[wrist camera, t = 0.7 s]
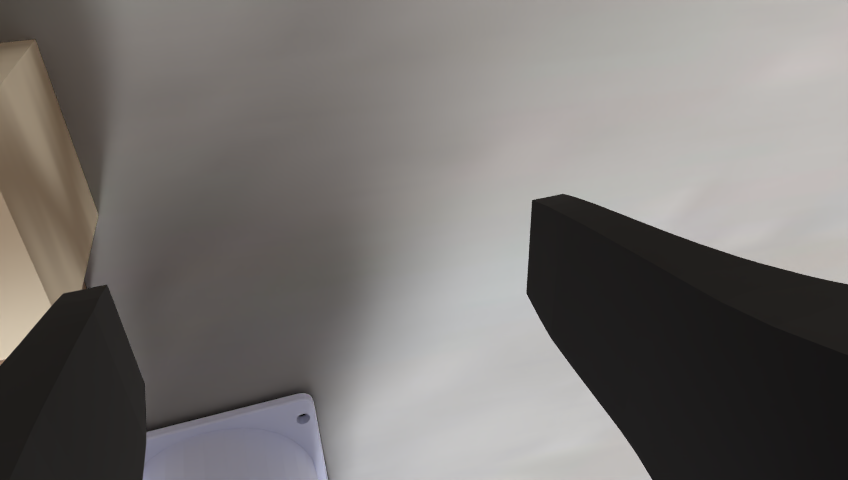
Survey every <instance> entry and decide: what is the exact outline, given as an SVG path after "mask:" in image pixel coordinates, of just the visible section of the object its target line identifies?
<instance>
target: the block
mask: <svg viewBox="0 0 848 480" xmlns="http://www.w3.org/2000/svg"><path fill="white" fill-rule="evenodd" d="M97 220H98V212H97V209H96V207H95V204H94V201H93V198H92V196H91V193H90V190H89V187H88V184H87V182H86V179H85V176H84V173H83V171H82V168H81V165H80V162H79V159H78V157H77V154H76V151H75V148H74V145H73V143H72V140H71V137H70V134H69V132H68V129H67V126H66V123H65V120H64V118H63V115H62V112H61V109H60V107H59V104H58V101H57V98H56V95H55V93H54V90H53V87H52V84H51V82H50V79H49V76H48V73H47V70H46V68H45V65H44V62H43V59H42V56H41V54H40V51H39V48H38V45H37V43H36V40H35V39H32V40H23V41H14V42H4V43H0V360H4V359H6V358H7V357H8V356H9V355H10V354H11V353H12V352H13V350H14V349H15V348H16V347H17V346H18V345H19V344H20V342H21V341H22V340H23V339H24V338H25V337H26V335H27V334H28V333H29V332H30V331H31V329H32V328H33V327H34V326H35V325H36V324H37V322H38V321H39V320H40V319H41V318H42V316H43V315H44V314H45V313H46V312H47V311H48V309H49V308H50V307H51V306H52V305H53V304H54V303H55V302H56V300H57V299H58V298H59V297H60V296H61V295H62V294H63V293H68V292H73V291H78V290H82V286H83V282H84V277H85V273H86V268H87V264H88V260H89V255H90V251H91V246H92V242H93V237H94V233H95V229H96V224H97Z"/></svg>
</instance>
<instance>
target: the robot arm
mask: <svg viewBox="0 0 848 480" xmlns="http://www.w3.org/2000/svg"><path fill="white" fill-rule="evenodd" d="M527 295H528V297H529V299H530V301H531V303H532V305H533V307H534V309H535V310H536V312H537V314H538V316H539V318H540V320H541V322H542V323H543V325H544V327H545V329H546V330H547V332H548V334H549V336H550V337H551V339H552V340H553V341H554V343H555V344H556V346H557V347H558V348H559V350H560V351H561V352H562V354H563V355H564V356H565V358H566V359H567V361H568V362H569V363H570V365H571V366H572V367H573V369H574V370H575V371H576V373H577V374H578V375H579V377H580V378H581V379H582V380H583V382H584V383H585V384H586V386H587V387H588V388H589V390H590V391H591V392H592V394H593V395H594V396H595V398H596V399H597V400H598V402H599V403H600V404H601V405H602V407H603V408H604V409H605V411H606V412H607V413H608V415H609V416H610V417H611V419H612V420H613V421H614V423H615V424H616V425H617V427H618V428H619V429H620V430H621V432H622V433H623V435H624V436H625V438H626V439H627V441H628V442H629V443H630V445H631V446H632V448H633V449H634V451H635V452H636V454H637V455H638V457H639V458H640V460H641V462H642V463H643V465H644V467H645V468H646V470H647V472H648V473H649V475H650V477H651V478H652V480H848V284H843V283H838V282H833V281H828V280H824V279H820V278H815V277H811V276H806V275H802V274H799V273H795V272H791V271H787V270H783V269H780V268H776V267H772V266H768V265H764V264H761V263H757V262H754V261H751V260H747V259H744V258H740V257H737V256H734V255H731V254H728V253H725V252H722V251H719V250H716V249H713V248H710V247H707V246H704V245H701V244H698V243H695V242H693V241H690V240H687V239H684V238H682V237H679V236H676V235H674V234H671V233H668V232H666V231H663V230H660V229H658V228H655V227H653V226H650V225H647V224H645V223H642V222H640V221H637V220H635V219H632V218H630V217H627V216H624V215H622V214H619V213H617V212H614V211H612V210H609V209H607V208H604V207H601V206H599V205H596V204H593V203H591V202H588V201H585V200H582V199H579V198H576V197H573V196H569V195H565V194H561V195H556V196H551V197H546V198H541V199H536V200H532V212H531V228H530V245H529V261H528V277H527ZM301 414H306V415H304V416H299V415H301ZM0 480H328V477H327V471H326V466H325V460H324V455H323V449H322V444H321V438H320V433H319V428H318V422H317V417H316V411H315V406H314V401H313V398H312V396H310V395H309V394H306V393H299V394H295V395H291V396H287V397H283V398H279V399H275V400H271V401H267V402H263V403H259V404H255V405H251V406H247V407H243V408H239V409H235V410H231V411H227V412H224V413H220V414H216V415H212V416H208V417H204V418H200V419H196V420H192V421H188V422H184V423H180V424H176V425H172V426H168V427H164V428H160V429H156V430H153V431H149V432H146V404H145V383H144V381H143V378H142V376H141V373H140V370H139V368H138V365H137V362H136V360H135V357H134V354H133V352H132V349H131V346H130V344H129V341H128V338H127V336H126V333H125V331H124V328H123V325H122V323H121V320H120V317H119V315H118V312H117V309H116V307H115V304H114V301H113V299H112V296H111V294H110V291H109V288H108V286H107V285H103V286H98V287H93V288H88V289H83V290H78V291H73V292H68V293H63V294H62V295H61V296H60V297H59V298H58V299H57V300H56V302H55V303H54V304H53V305H52V306H51V307H50V308H49V309H48V311H47V312H46V313H45V314H44V315H43V316H42V318H41V319H40V320H39V321H38V322H37V324H36V325H35V326H34V327H33V328H32V329H31V331H30V332H29V333H28V334H27V335H26V337H25V338H24V339H23V340H22V341H21V342H20V344H19V345H18V346H17V347H16V348H15V349H14V350H13V352H12V353H11V354H10V355H9V356H8V357H7V358H6V360H5V361H4V362H3V363H2V364H1V365H0Z"/></svg>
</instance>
